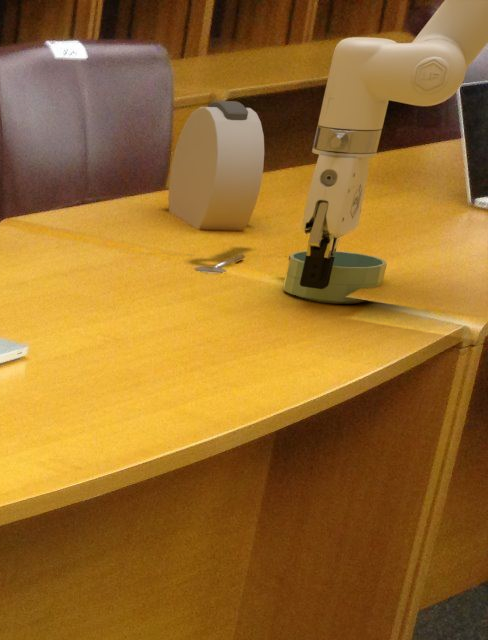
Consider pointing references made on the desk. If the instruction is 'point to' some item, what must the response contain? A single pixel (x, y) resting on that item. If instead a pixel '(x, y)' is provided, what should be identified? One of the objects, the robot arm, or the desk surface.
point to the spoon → (219, 265)
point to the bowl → (337, 277)
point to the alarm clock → (217, 167)
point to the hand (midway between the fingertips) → (313, 286)
